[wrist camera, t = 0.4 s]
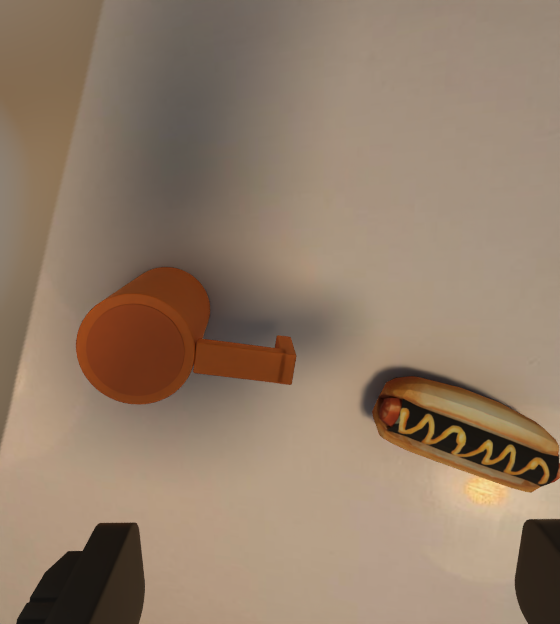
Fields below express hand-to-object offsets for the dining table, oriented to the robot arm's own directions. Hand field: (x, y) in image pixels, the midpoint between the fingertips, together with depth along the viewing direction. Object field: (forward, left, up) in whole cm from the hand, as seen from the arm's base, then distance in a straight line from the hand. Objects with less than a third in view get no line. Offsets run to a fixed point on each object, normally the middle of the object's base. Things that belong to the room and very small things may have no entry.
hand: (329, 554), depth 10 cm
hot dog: (+15, +3, -23) cm, 27 cm away
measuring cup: (-3, -3, -22) cm, 23 cm away
